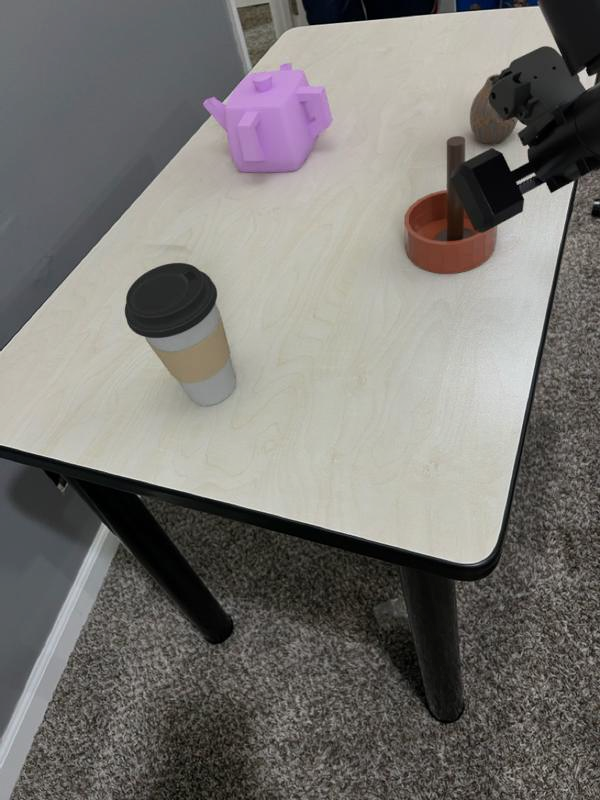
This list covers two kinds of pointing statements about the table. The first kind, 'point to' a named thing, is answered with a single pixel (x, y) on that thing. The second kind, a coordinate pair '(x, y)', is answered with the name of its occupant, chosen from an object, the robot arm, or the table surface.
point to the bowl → (438, 255)
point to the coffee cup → (184, 329)
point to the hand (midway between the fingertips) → (501, 189)
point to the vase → (489, 118)
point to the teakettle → (272, 120)
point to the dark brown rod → (454, 195)
